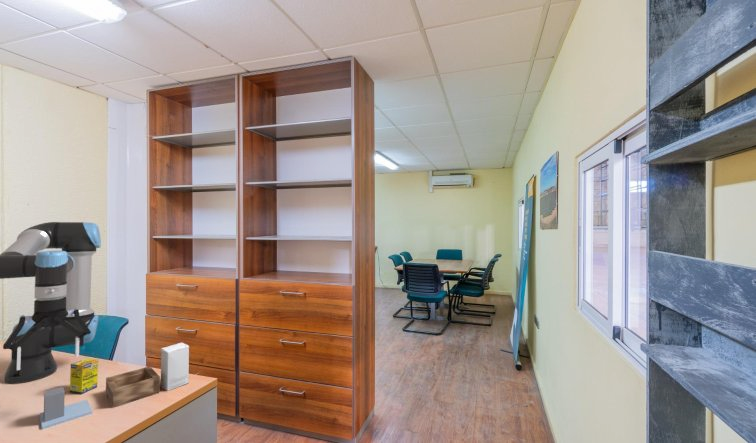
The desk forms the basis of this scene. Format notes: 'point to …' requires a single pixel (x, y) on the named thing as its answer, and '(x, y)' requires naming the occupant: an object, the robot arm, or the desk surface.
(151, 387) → the box
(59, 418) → the lid
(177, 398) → the desk surface
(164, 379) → the skincare box
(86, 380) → the supplement box
